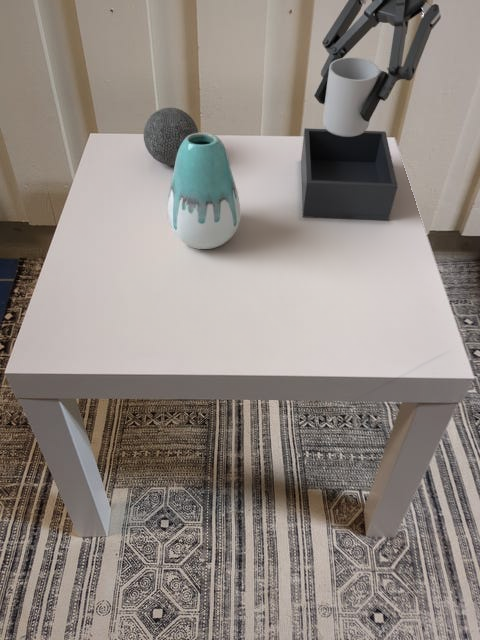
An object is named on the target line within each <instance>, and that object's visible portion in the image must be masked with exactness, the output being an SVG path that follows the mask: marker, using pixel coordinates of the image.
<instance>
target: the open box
mask: <svg viewBox="0 0 480 640" xmlns="http://www.w3.org/2000/svg"><path fill="white" fill-rule="evenodd" d="M301 148H302V149H301V157H300V178H301V204H302V205H301V207H302V217H303V218H315V219H316V218H319V219H339V220H340V219H342V220H364V221H365V220H366V221H383V222H384V221H386V222H387V221H388V222H389V220H390V216H391V213H392V209H393V205H394V203H395V198H396V193H397V191H398V183H397V178H396V177H397V176H396V173H395V168H394V164H393V158H392V155H391V150H390V145H389V141H388V137H387V132H386V130H385V131H382V130H366V131H364V132H363V133H362V134H360V135H357V136H353V137H343V136H338V135H335V134H332V133H330V132H329V131H327V130H326V129H325V128H307V127H305V128H304V130H303V139H302V147H301Z"/></svg>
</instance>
